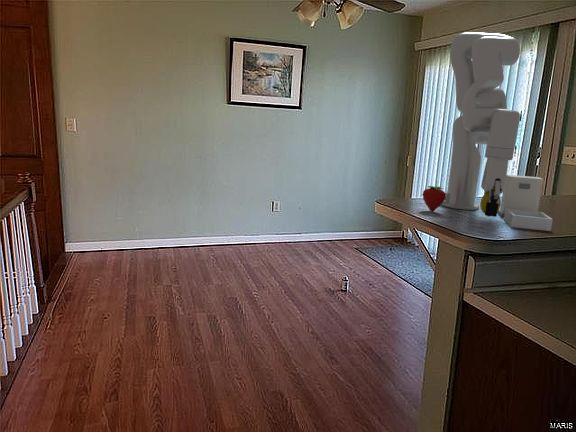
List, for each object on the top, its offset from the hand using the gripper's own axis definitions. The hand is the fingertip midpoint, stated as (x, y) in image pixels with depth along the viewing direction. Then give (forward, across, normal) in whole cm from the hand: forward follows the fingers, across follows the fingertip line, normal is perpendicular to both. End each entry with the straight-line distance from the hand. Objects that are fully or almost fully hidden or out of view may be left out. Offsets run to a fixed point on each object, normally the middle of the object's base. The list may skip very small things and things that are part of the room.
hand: (488, 212), depth 139 cm
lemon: (+1, 0, 0) cm, 1 cm away
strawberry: (+4, -9, -16) cm, 18 cm away
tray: (+3, -2, +11) cm, 12 cm away
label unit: (+3, -14, +11) cm, 18 cm away
